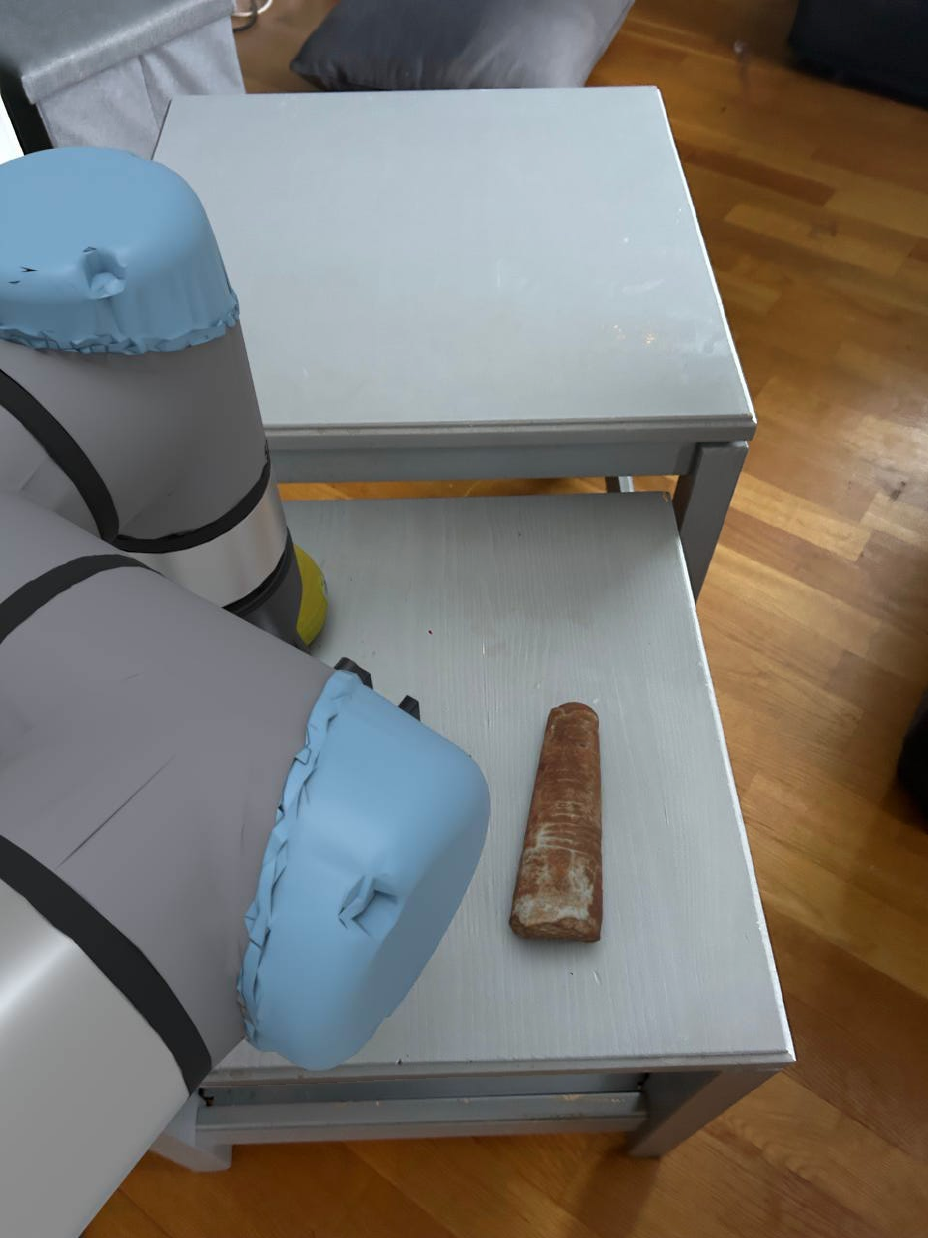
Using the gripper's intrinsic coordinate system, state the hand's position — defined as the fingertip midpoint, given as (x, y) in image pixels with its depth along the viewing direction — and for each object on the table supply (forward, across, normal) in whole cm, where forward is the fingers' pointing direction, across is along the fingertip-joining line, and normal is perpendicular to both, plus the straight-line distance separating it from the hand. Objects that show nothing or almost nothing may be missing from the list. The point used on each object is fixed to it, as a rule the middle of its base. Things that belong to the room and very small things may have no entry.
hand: (283, 773), depth 56 cm
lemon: (+17, +16, -16) cm, 28 cm away
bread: (+17, -13, -12) cm, 24 cm away
